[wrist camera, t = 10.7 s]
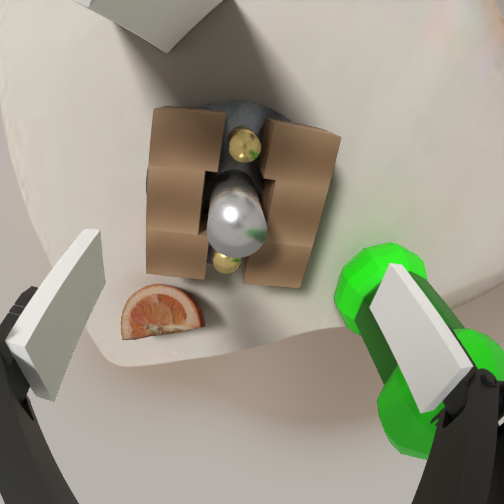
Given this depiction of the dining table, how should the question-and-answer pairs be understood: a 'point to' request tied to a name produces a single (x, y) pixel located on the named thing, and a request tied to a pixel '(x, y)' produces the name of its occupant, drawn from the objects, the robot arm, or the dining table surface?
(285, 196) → the flange block
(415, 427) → the plastic bottle
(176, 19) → the milk carton
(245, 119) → the post base
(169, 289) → the fruit slice
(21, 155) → the dining table surface
